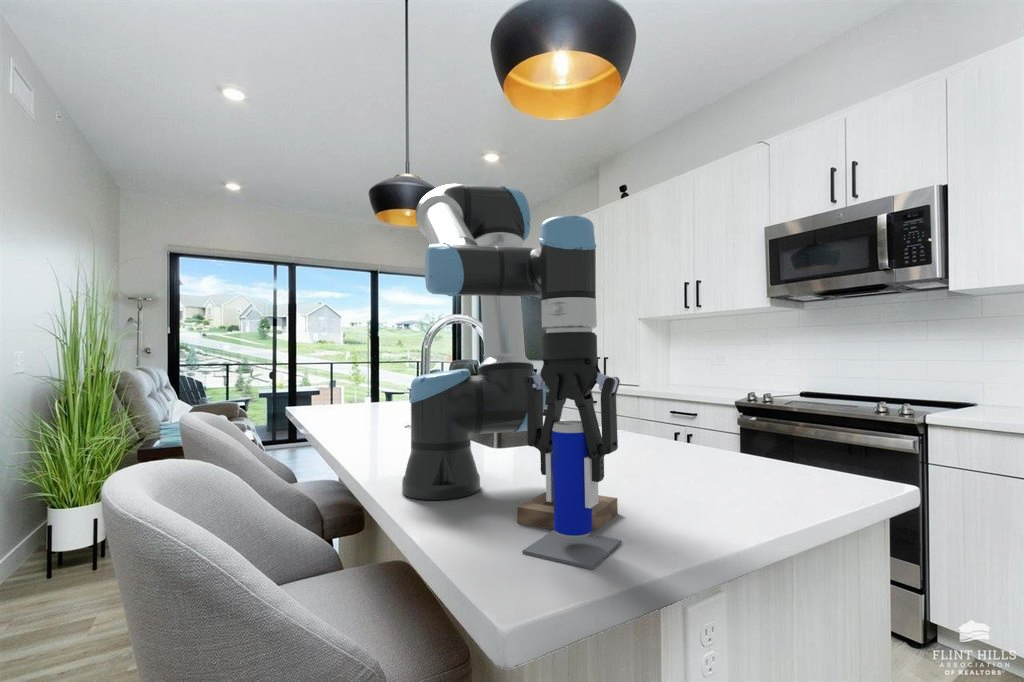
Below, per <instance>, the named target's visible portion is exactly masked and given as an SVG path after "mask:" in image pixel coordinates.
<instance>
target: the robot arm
mask: <svg viewBox="0 0 1024 682" xmlns="http://www.w3.org/2000/svg"><path fill="white" fill-rule="evenodd" d="M415 221H416V225H417V228H418V229H419V231H420V233H421V234H422V236H424V237H425V238H426V239H427V241H428V244H429V246H428V245H427V248H426V251H425V255H424V257H425V259H424V279H425V288H426V290H427V292H428V293H430V294H432V295H440V296H441V295H444V296H448V297H456V296H458V297H459V296H460V297H461V296H468V297H469V296H470V297H471V296H472V297H473V296H475V297H478V296H479V297H480V307H481V323H482V339H483V355H484V356H483V357H484V360H482V362H481V363H480V365H478V367H477V375H472V374H471V373H472V372H471V371H470V369H468V368H459V369H451V370H449V369H448V370H443V371H437V372H432V373H431V372H430V373H427V374H421V375H418V376H416V377H414V379H412V381H411V384H410V399H409V403H410V454H409V458H408V461H407V464H406V469H405V473H404V476H403V477H402V481H401V482H402V485H401V489H402V490H401V492H402V494H403V496H406V497H409V498H412V499H416V500H427V501H441V500H442V501H444V500H453V499H459V498H460V499H461V498H465V497H467V496H470V495H473V494H476V493H477V492H478V491H480V489H481V476H480V473H479V471H478V469H477V465H476V462H475V458H474V455H473V453H472V446H471V443H472V442H471V436H472V435H477V434H496V433H497V434H498V433H499V434H501V433H511V432H512V433H514V434H515V433H516V434H517V433H518V432H523V431H524V432H525V431H527V434H526V437H527V440H526V441H527V445H528V446H529V447H534V448H535V449H537V450H538V451H539V455H540V472H541V473H540V474H541V475H542V476H545V492H546V501H548V502H552V501H554V497H553V449H552V429H553V425H554V422H558V421H561V418H562V414H563V413H562V412H563V410H564V406H565V404H566V402H567V399H569V400H571V401H574V405H575V407H576V408H577V409H578V415H579V418H580V421H581V422H582V426H583V430H584V434H585V438H586V442H587V446H588V449H589V453H590V454H589V455H588V457H585V458H584V473H585V508H592V507H593V506H595V505H596V504H598V495H599V483H600V482H602V481H603V480H604V478H605V456H606V455H610V454H612V453H614V452H616V451H618V448H619V440H618V439H619V438H618V415H617V414H618V412H617V392H618V389H619V386H620V384H621V383H620V382H621V381H620V378H619V377H617V376H609V375H606V374H603V373H602V372H601V370H600V368H599V366H598V335H597V334H596V333H595V332H593V330H594V329H596V328H597V327H598V322H597V321H598V320H597V317H598V316H597V299H596V298H597V295H596V294H597V293H596V292H597V291H596V289H597V288H596V287H597V286H596V285H597V284H596V283H597V281H596V280H597V279H596V276H597V275H596V272H597V270H596V269H597V268H596V267H597V266H596V263H597V262H596V261H597V260H596V258H597V257H596V249H597V244H596V237H595V227H594V226H595V225H594V223H593V222H592V221H591V220H590V219H589V218H587V217H585V216H580V215H558V216H552V217H550V218H547V219H545V220H544V221H543V222H542V223H541V224H540V228H539V231H540V232H539V238H538V243H539V246H537V247H523V246H524V242H525V241H527V239H528V237H529V235H530V231H531V223H530V222H531V211H530V204H529V202H528V199H527V197H526V196H525V194H524V192H522V191H521V190H519V189H518V188H514V187H513V188H512V187H507V186H504V185H502V186H492V185H491V186H490V185H487V186H486V185H478V184H477V185H476V184H474V185H473V184H464V183H449V184H444V185H441V186H438V187H435V188H434V189H432V190H430V191H428V192H427V193H426V194H425V195H423V196H422V198H420V200H419V202H418V204H417V205H416V208H415ZM521 297H526V298H527V299H531V300H537V299H538V300H539V299H540V301H541V302H540V303H541V328H542V329H543V330H545V333H543V334H542V335H541V358H542V362H543V364H542V367H541V369H540V373H538V372H535V371H534V369H535V368H534V367H535V366H534V363H533V362H532V361H531V360H530V359H529V358H527V356H526V347H525V335H524V321H523V311H522V310H523V309H522V300H521V299H522V298H521ZM597 383H598V389H599V391H601V392H600V417H601V418H600V419H601V421H600V422H601V423H600V424H601V428H600V425H599V422H598V418H597V414H596V411H595V410H596V409H595V406H594V403H595V402H594V401H595V400H594V397H593V392H592V390H593V389H594V387H595V386H596V384H597ZM546 387H547V389H548V390H549V391H548V395H546V393H547V390H546ZM546 404H547V407H546ZM545 407H546V412H545ZM544 412H545V415H544ZM544 416H545V417H544Z"/></svg>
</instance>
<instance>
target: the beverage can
mask: <svg viewBox="0 0 1024 682" xmlns="http://www.w3.org/2000/svg"><path fill="white" fill-rule="evenodd" d="M552 449H553V497H554V530H555V531H556V533H557V534H558V535H559V536H560V537H562V538H566V539H583V538H586V537H588V536H589V535H590V533H591V532H592V508H585V473H584V458H585V457H588V455H589V454H590V453H589V449H588V446H587V442H586V438H585V434H584V430H583V426H582V422H581V420H560V421H558V422H554V425H553V429H552Z"/></svg>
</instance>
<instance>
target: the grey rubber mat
mask: <svg viewBox="0 0 1024 682" xmlns="http://www.w3.org/2000/svg"><path fill="white" fill-rule="evenodd" d="M621 544H622V539H617V538H613V537H608V536H604V535H603V536H602V535H597V534H594V533H592V534H590V535H589V536H588V537H586V538H583V539H566V538H562V537H560V536H559V535H558V534H557V533H556V531H555V530H553V529H552V530H551V531H550V532H549V533H547V534H545V535H543V536H542V537H541V538H539V539H538V540H536V541H534V542H533V543H531V544H530V545H528V546H526V547H525V548H524V549H523V550H522V554H523V555H528V556H531V557H536V558H540V559H541V558H542V559H545V560H549V561H554V562H557V563H558V562H559V563H561V564H562V563H563V564H566V565H571V566H575V567H580V568H584V569H588V570H594V569H595V568H596V567H598V566H599V564H601V563H602V562H603V561H604V560H605V559H606V558H607V557H609V555H611V553H613V552H614V551H615V549H617V547H619V546H620V545H621Z"/></svg>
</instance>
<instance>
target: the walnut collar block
mask: <svg viewBox="0 0 1024 682" xmlns="http://www.w3.org/2000/svg"><path fill="white" fill-rule="evenodd" d="M618 506H619V505H618V497H614V496H613V497H612V496H606V495H599V494H598V504H596V505H595V506H593V507H592V532H591V533H590V534H594V532H596V531H597V530H599V529H600V528H601V527H602V526H604V525H605V524H606V523H608V522H609V521H610V520H611V519H613V517H615V516H617V514H618V513H619V511H618ZM516 517H517V518H516V520H517V521H516V523H518V524H524V525H527V526H534V527H538V528H544V529H549V530H552V531H553V530H554V501H552V502H548V501H546V491H544V492H543V493H541V494H539V495H537V496H535V497H533V498H531V499H529V500H527V501H525V502H523V503H521V504H520V505H517V506H516Z"/></svg>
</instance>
